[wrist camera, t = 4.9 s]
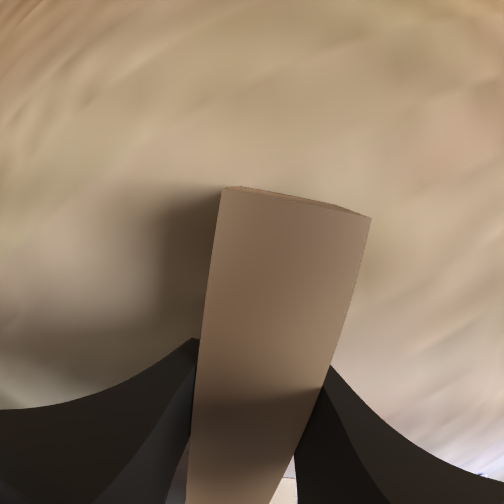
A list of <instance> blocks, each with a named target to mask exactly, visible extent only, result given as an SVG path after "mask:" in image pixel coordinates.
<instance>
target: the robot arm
mask: <svg viewBox="0 0 504 504" xmlns="http://www.w3.org/2000/svg"><path fill="white" fill-rule="evenodd" d="M199 346H200V340H199V339H195V338H191V339H189V340H188V341H186V342H185V343H184V344H182V345H181V346H180V347H178V348H177V349H176V350H174V351H173V352H172V353H170V354H169V355H167V356H166V357H165V358H163V359H162V360H160V361H159V362H157V363H156V364H154V365H153V366H151V367H149V368H148V369H146V370H144V371H143V372H141V373H139V374H137V375H136V376H134V377H132V378H130V379H128V380H126V381H124V382H122V383H120V384H118V385H116V386H114V387H111V388H109V389H106V390H104V391H101V392H99V393H96V394H92V395H89V396H86V397H82V398H79V399H76V400H72V401H69V402H64V403H60V404H55V405H49V406H43V407H36V408H27V409H8V410H0V504H165V502H166V498H167V495H168V491H169V488H170V484H171V481H172V478H173V475H174V473H175V470H176V468H177V465H178V463H179V460H180V458H181V456H182V453H183V451H184V449H185V446H186V444H187V442H188V439H189V437H190V433H191V422H192V411H193V401H194V391H195V381H196V372H197V363H198V354H199ZM294 463H295V472H296V482H297V497H298V504H504V482H501V481H497V480H494V479H490V478H488V476H487V474H483V475H477V474H473V473H471V472H468V471H465V470H463V469H461V468H458V467H456V466H454V465H451V464H449V463H447V462H445V461H443V460H441V459H439V458H437V457H435V456H433V455H432V454H430V453H428V452H427V451H425V450H423V449H422V448H420V447H418V446H417V445H415V444H414V443H412V442H411V441H409V440H408V439H406V438H405V437H404V436H402V435H401V434H400V433H398V432H397V431H396V430H394V429H393V428H392V427H391V426H389V425H388V424H387V423H386V422H385V421H384V420H383V419H381V418H380V417H379V416H378V415H377V414H376V413H375V412H374V411H373V410H372V409H371V408H370V407H369V406H368V405H367V404H366V403H365V402H364V401H363V400H362V399H361V398H360V397H359V396H358V395H357V394H356V393H355V392H354V391H353V390H352V388H351V387H350V386H349V385H348V384H347V383H346V382H345V381H344V379H343V378H342V377H341V376H340V375H339V374H338V373H337V371H336V370H335V369H334V368H333V367H332V366H331V365H330V366H329V369H328V371H327V374H326V377H325V380H324V382H323V385H322V388H321V390H320V393H319V395H318V398H317V400H316V403H315V405H314V408H313V410H312V413H311V415H310V418H309V420H308V423H307V425H306V427H305V430H304V432H303V434H302V437H301V439H300V441H299V443H298V446H297V448H296V450H295V452H294Z"/></svg>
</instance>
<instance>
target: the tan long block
mask: <svg viewBox="0 0 504 504" xmlns="http://www.w3.org/2000/svg"><path fill="white" fill-rule="evenodd" d="M371 219H372V218H369V217H367V216H364V215H361V214H359V213H356V212H353V211H351V210H348V209H345V208H343V207H340V206H337V205H334V204H329V203H324V202H320V201H315V200H310V199H305V198H300V197H295V196H290V195H285V194H280V193H275V192H270V191H264V190H259V189H253V188H247V187H242V186H240V187H231V188H222V193H221V199H220V205H219V211H218V217H217V224H216V230H215V236H214V243H213V249H212V256H211V263H210V270H209V277H208V284H207V291H206V299H205V306H204V314H203V322H202V329H201V338H200V346H199V354H198V363H197V372H196V381H195V391H194V401H193V411H192V422H191V433H190V444H189V457H188V470H187V485H186V501H185V504H269V503H270V501H271V499H272V497H273V495H274V493H275V491H276V489H277V487H278V485H279V483H280V481H281V479H282V477H283V475H284V473H285V471H286V469H287V467H288V465H289V463H290V461H291V459H292V456H293V454H294V452H295V450H296V448H297V446H298V443H299V441H300V439H301V437H302V434H303V432H304V430H305V427H306V425H307V423H308V420H309V418H310V415H311V413H312V410H313V408H314V405H315V403H316V400H317V398H318V395H319V393H320V390H321V388H322V385H323V382H324V380H325V377H326V374H327V371H328V369H329V366H330V363H331V360H332V357H333V354H334V352H335V349H336V346H337V343H338V340H339V337H340V333H341V330H342V327H343V324H344V321H345V318H346V314H347V311H348V308H349V304H350V301H351V298H352V294H353V291H354V287H355V284H356V280H357V276H358V272H359V269H360V265H361V261H362V257H363V253H364V249H365V245H366V241H367V236H368V232H369V228H370V223H371Z"/></svg>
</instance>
